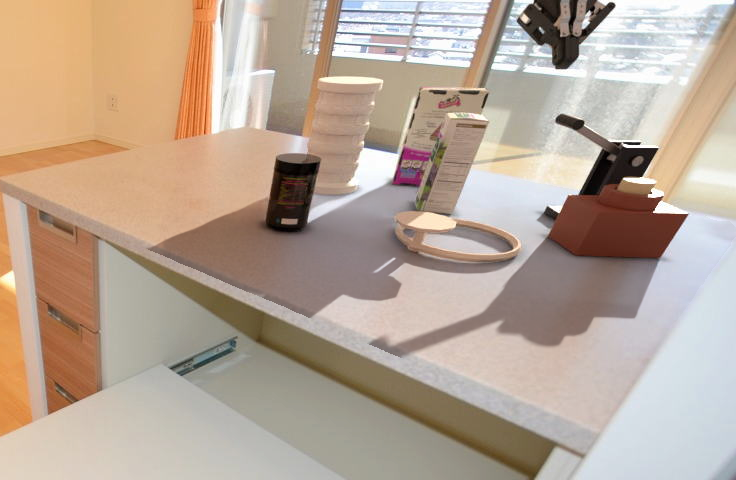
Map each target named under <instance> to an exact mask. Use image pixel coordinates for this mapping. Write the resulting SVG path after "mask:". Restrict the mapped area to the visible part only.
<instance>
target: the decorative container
mask: <svg viewBox="0 0 736 480" xmlns="http://www.w3.org/2000/svg"><path fill="white" fill-rule="evenodd" d="M383 84H384V80H383V79H381V78H377V77H369V76H367V77H366V76H347V75H346V76H342V75H341V76H325V77H320V78H318V81H317V85H316V89H318V90H320V91H319V95H318V100H316V103H315V104H314V111H315V113H314V119H312V121H311V123H310V124H311V125H310V130H311V133H310V137H309V138H308V141H307V146H306V147H307V152H306V154H310V155H315V156H318V157H320V158H321V163H320V168H319V172H318V176H317V180H316V185H315V189H314V194H319V195H333V196H334V195H347V194H351V193H354V192H356V190H357V189H358V185H359V180H358V179H357V178H355V175H356V171H357V170H358V168H359V166H360V155H361V152H362V151H363V149H364V147H365V141H364V140H365V136H366V134H367V132H368V131H369V128H370V117H371V114H372V113H373V112H374V110H375V105H376V104H375V99H376V94H377V92H379V91H381V90H382V88H383Z"/></svg>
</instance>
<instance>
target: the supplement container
mask: <svg viewBox="0 0 736 480" xmlns="http://www.w3.org/2000/svg"><path fill="white" fill-rule="evenodd" d="M320 163H321V158H320V157H318V156H315V155H310V154H307V153H299V152H298V153H297V152H291V153H290V152H287V153H281V154H277V155H276V156H275V161H274V167H273V173H272V178H271V186H270V190H269V196H268V201H267V208H266V213H265V220H264V222H265V225H266V227H267V228H269V229H270V230H273V231H275V232H281V233H296V232H299V231H302V230H304V228H306V227H307V225H308V222H309V216H310V213H311V212H310V211H311V208H312V202H313V198H314V194H315V193H314V189H315V185H316V180H317V176H318V172H319V168H320Z"/></svg>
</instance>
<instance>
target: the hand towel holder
mask: <svg viewBox="0 0 736 480" xmlns="http://www.w3.org/2000/svg"><path fill="white" fill-rule="evenodd" d="M394 220H395V222H396V223H397V224H398V226H396V229H395V234H396V237H397V240H399V241H400V243H402V244H403V245H405V246H406V247H407V248H408V250H409V251H410V252H414V253H419V252H420V253H423V254H425V255H429V256H433V257H436V258H441V259H445V260H452V261H457V262H467V263H498V262H506V261H508V260H511V259H513V258H514V257H516V256H517V255H518V254H520V253H521V252H522V242H521V241H520V239H519V238H518V237H517V236H515V235H514V234H512V233H510V232H509V231H506V230H504V229H501V228H499V227H496V226H493V225H489V224H486V223H484V222H483V223H482V222H477V221H473V220H469V219H460V218H453V217H449V216H447V215H443V214H440V213H433V212H420V211H417V210H408V211H404V212H403V211H402V212H397V213H396V214H395V216H394ZM457 227H458V228H464V229H469V230H473V231H478V232H482V233H485V234H487V235H491V236H494V237H496V238H498V239H501V240H503V241H505V242H506V243H508V244H509V245H510V246H511V247H512V249H511V250H508V251H505V252H498V253H470V252H461V251H455V250H448V249H444V248H440V247H435V246H432V245H429V244H426V243H424V241H425V238H426V236H427V233H432V234H439V233H447V232H451V231H452V230H453V229H455V228H457ZM405 229H408V230H412V231H414V234H413V237H410V236H408V235H407V234H406V233H405V232H404V230H405Z"/></svg>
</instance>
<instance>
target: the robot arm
mask: <svg viewBox="0 0 736 480" xmlns="http://www.w3.org/2000/svg"><path fill="white" fill-rule="evenodd" d="M616 7H617V5H616V3H615V2H613V1H610V2H608V3H607V4H606V5H605V4H604V3H602V2H601V1H599V0H533V2H532V3H529V4H527V6H526V7H524V9H523V11H522V12H521V13H520V14H519V16H518V17H517V19H516V23H517V24H518V25H519V27H521V29H522V30H524V32H525V33H526V34H527V35H528V36H529V37H530V38H531V39H532V41H534V43H536V44H537V45H538V46H541V47H542V46H544V45H548V46H549V48H550V49H551V63H552V65H553V67H554V70H568V69H569V68H570V67H571V66H572V65H573V64H574V63H575V62H576V61H577V60H578V59H579V57H580V45H582V44H583V42H584V41H585V40H586V39H588V37H589V36H590V35H591V34H592V33H593V32H594V31H595V30H596V29H597V28H598V27H599V26H600V25H601V24H602V22H603V21H604V20H605V19H607V17H608V15H610V14H611V13H612V12H613V11H614V10H615V9H616ZM589 12H590V14H589V16H588V20H587V22H588V24H587V25H586V26H585V27H584V28H583V23H584V21H585V19H586V15H587V14H588V13H589ZM540 29H541V30H542V31H543V32H542V31H541V30H540Z"/></svg>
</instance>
